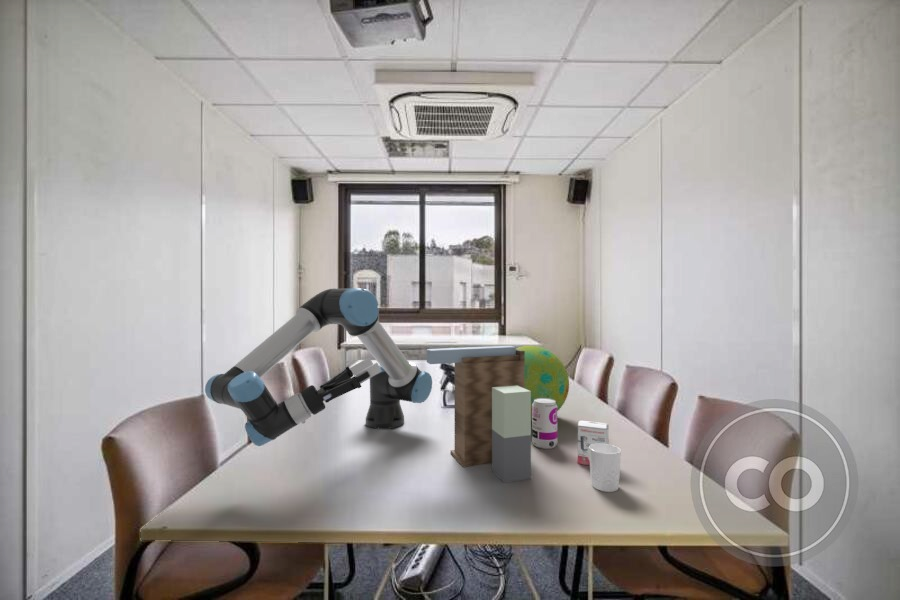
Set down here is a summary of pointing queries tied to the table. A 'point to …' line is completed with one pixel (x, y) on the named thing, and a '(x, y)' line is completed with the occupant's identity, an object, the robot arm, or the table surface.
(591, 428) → the ink box
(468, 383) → the stand
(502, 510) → the table surface
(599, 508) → the table surface
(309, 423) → the table surface
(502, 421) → the upper block
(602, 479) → the white cup
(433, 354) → the pale blue bar
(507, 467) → the lower block
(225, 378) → the robot arm
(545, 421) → the supplement can
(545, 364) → the globe
